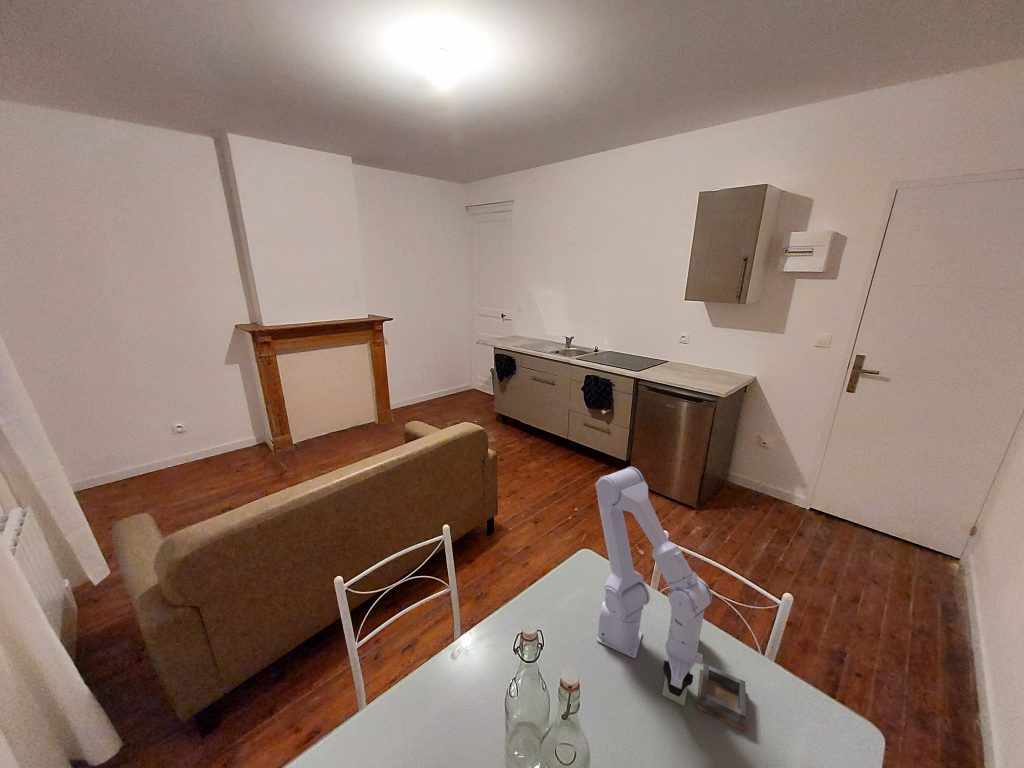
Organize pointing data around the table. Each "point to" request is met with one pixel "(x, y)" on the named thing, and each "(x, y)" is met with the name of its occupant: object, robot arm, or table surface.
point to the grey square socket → (722, 697)
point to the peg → (666, 693)
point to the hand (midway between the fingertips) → (675, 682)
